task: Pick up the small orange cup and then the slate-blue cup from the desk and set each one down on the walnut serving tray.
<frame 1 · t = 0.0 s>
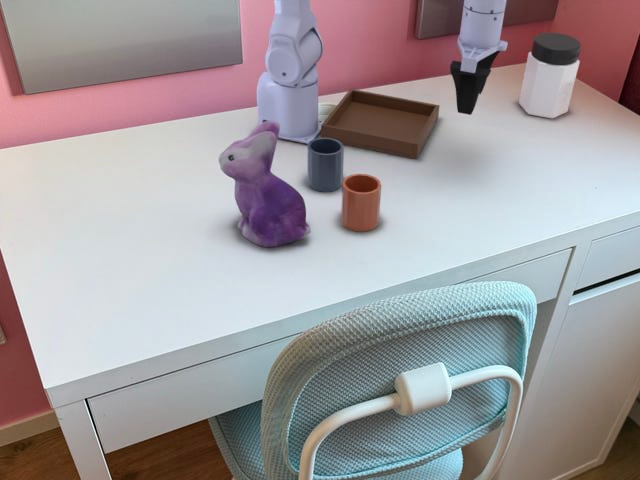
hand: (469, 102, 109), 10 cm above the table, tool pointing down, fingers open, 7 cm apart
figurine: (267, 232, 99), on the table
tray: (381, 129, 123), on the table
blue cup: (325, 182, 109), on the table
orange cup: (359, 221, 102), on the table
jar: (542, 109, 133), on the table
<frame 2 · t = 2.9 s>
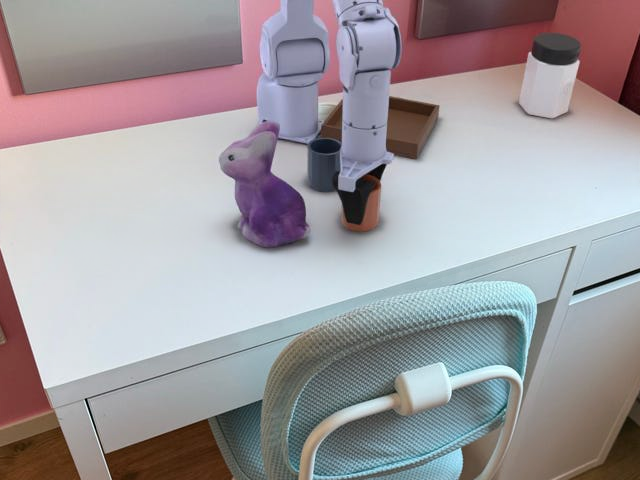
hand: (360, 211, 101), 2 cm above the table, tool pointing down, fingers closed on orange cup, 5 cm apart
orange cup: (360, 221, 102), on the table, touching gripper
everything else where it was.
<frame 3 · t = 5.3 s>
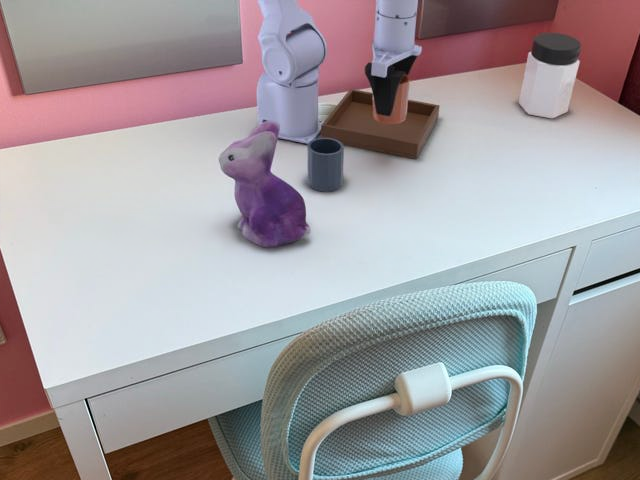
hand: (389, 106, 109), 9 cm above the table, tool pointing down, fingers closed on orange cup, 5 cm apart
orange cup: (388, 116, 110), point 7 cm above the table, touching gripper
everything else where it was.
when the fingers open (2 cm above the table, at t = 8.0 s): orange cup stays where it is, resting on tray.
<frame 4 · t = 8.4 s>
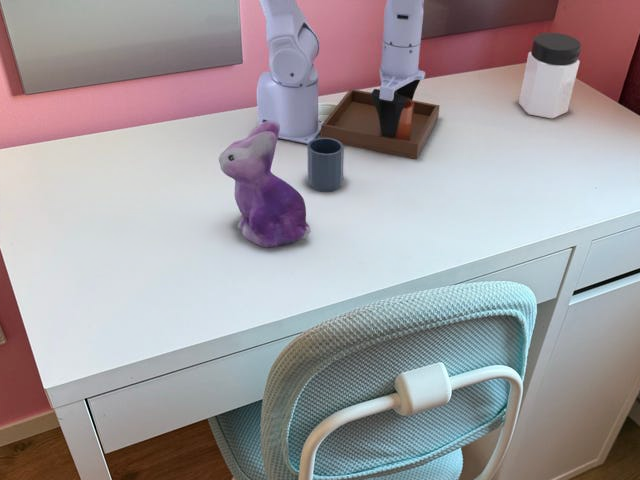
hand: (394, 125, 118), 3 cm above the table, tool pointing down, fingers open, 7 cm apart
orange cup: (394, 137, 120), point 1 cm above the table, touching tray
everything else where it was.
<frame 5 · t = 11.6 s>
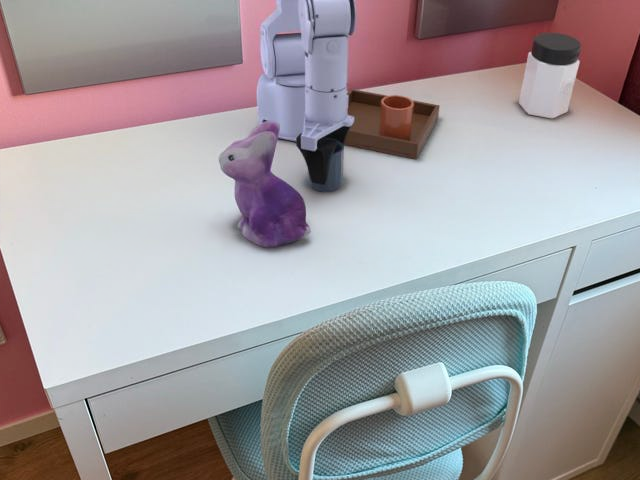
hand: (325, 173, 108), 2 cm above the table, tool pointing down, fingers closed on blue cup, 5 cm apart
blue cup: (325, 182, 109), on the table, touching gripper
everything else where it was.
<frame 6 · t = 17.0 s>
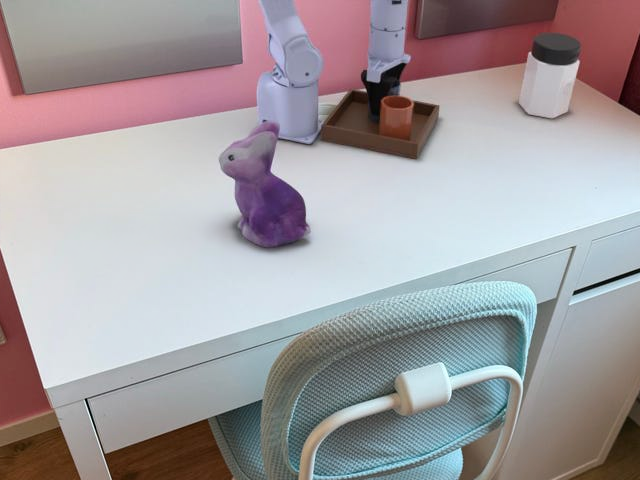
hand: (382, 107, 124), 2 cm above the table, tool pointing down, fingers closed on blue cup, 5 cm apart
blue cup: (382, 116, 125), point 1 cm above the table, touching gripper, tray
everything else where it was.
when the fingers open (2 cm above the table, at t = 17.3 s): blue cup stays where it is, resting on tray.
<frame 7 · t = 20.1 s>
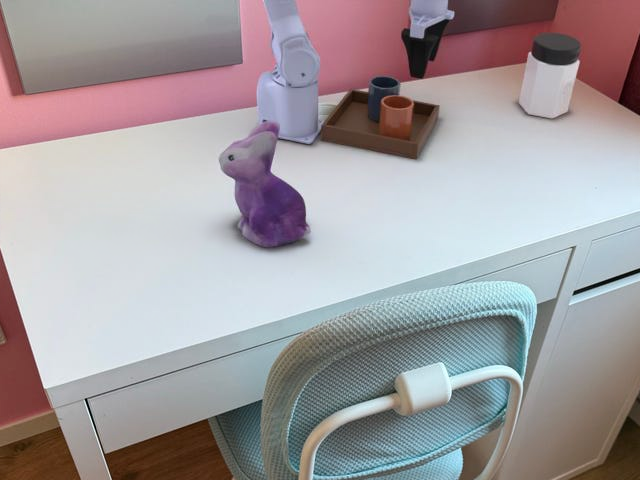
hand: (422, 68, 119), 9 cm above the table, tool pointing down, fingers open, 7 cm apart
blue cup: (382, 116, 125), point 1 cm above the table, touching tray
everything else where it was.
at the end: orange cup inside the target area in the tray (4.3 cm from its centre), point 0.6 cm above the tray's base; blue cup inside the target area in the tray (3.6 cm from its centre), point 0.6 cm above the tray's base; orange cup tilted 0° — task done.
